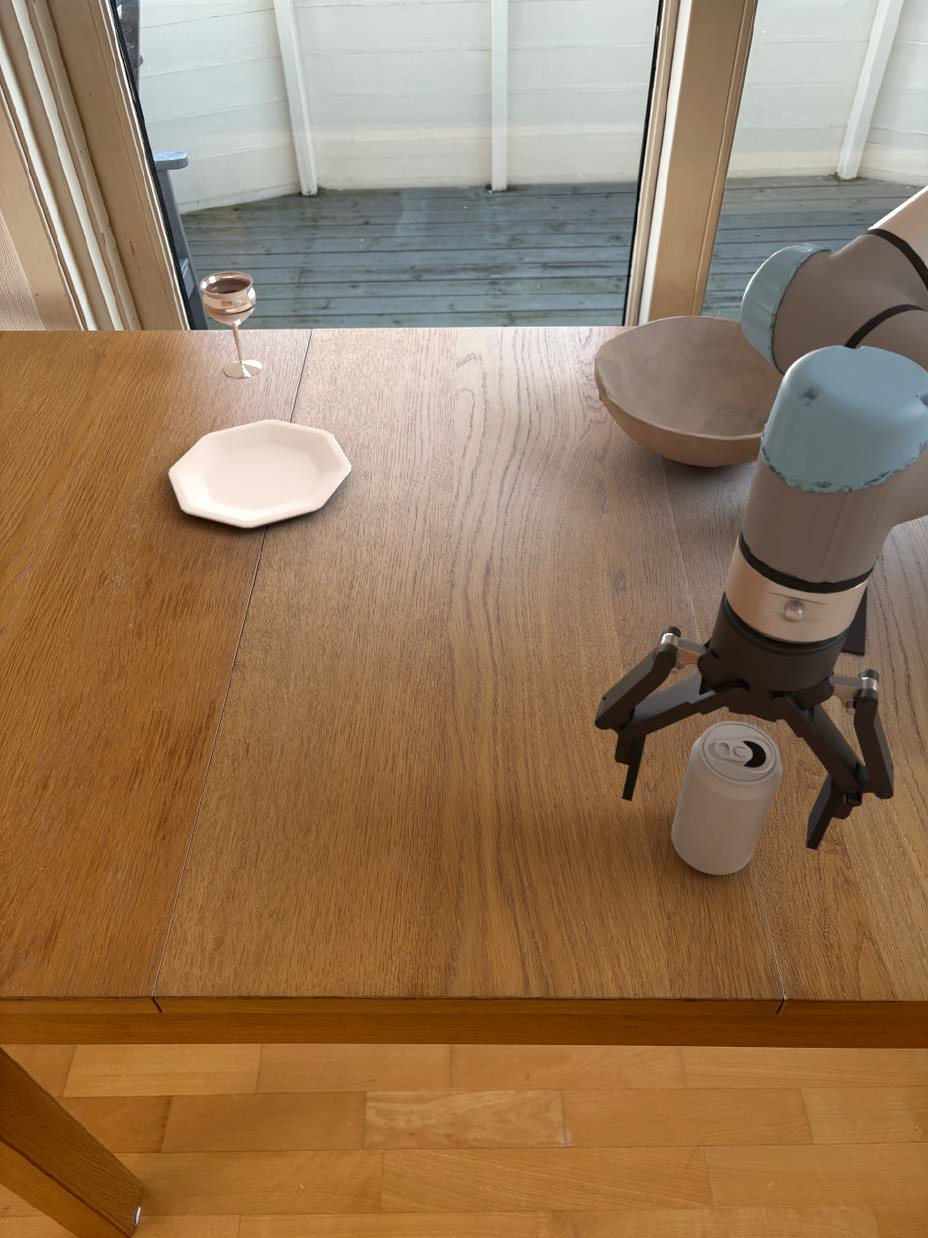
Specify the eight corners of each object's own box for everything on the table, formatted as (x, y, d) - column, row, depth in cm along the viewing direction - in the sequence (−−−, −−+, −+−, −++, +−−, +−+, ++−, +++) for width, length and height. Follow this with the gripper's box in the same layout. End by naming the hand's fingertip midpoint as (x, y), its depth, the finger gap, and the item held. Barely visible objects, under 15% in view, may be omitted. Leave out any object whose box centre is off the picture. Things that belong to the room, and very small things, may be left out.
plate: (196, 552, 101) (193, 541, 100) (159, 455, 114) (156, 444, 113) (370, 505, 106) (369, 494, 105) (317, 417, 119) (315, 407, 118)
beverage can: (753, 886, 72) (790, 794, 64) (668, 873, 73) (693, 781, 65) (750, 816, 77) (784, 721, 68) (670, 805, 78) (693, 710, 69)
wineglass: (207, 367, 128) (188, 282, 120) (249, 350, 131) (234, 266, 123) (235, 387, 125) (217, 300, 116) (277, 368, 128) (264, 283, 119)
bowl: (853, 488, 108) (879, 412, 101) (634, 525, 104) (645, 448, 97) (750, 373, 126) (766, 302, 119) (560, 400, 122) (565, 327, 115)
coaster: (866, 587, 96) (867, 584, 96) (863, 656, 89) (865, 653, 89) (765, 567, 98) (766, 564, 98) (755, 633, 92) (756, 630, 91)
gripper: (568, 601, 57) (546, 805, 72) (1017, 700, 51) (892, 899, 66) (595, 526, 62) (569, 731, 77) (1006, 609, 56) (893, 813, 71)
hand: (719, 810), depth 72 cm, fingers open, 13 cm apart
